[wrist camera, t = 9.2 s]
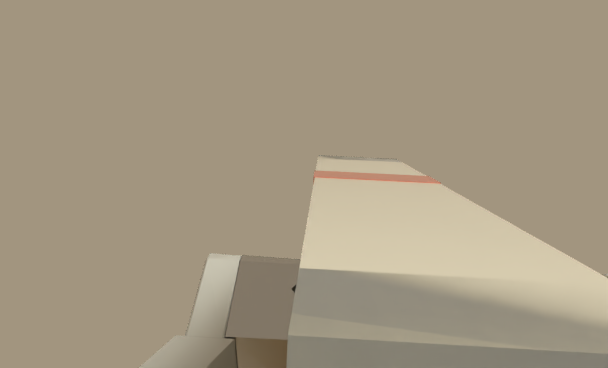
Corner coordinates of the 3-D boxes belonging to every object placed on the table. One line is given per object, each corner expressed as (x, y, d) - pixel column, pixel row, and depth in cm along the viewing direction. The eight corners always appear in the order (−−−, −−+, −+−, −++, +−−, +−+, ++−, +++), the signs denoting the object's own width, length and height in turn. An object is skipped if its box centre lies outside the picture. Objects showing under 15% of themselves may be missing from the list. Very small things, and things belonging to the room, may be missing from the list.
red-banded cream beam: (710, 722, 5) (762, 358, 4) (267, 689, 5) (284, 332, 4) (392, 224, 26) (396, 158, 26) (314, 221, 27) (317, 154, 26)
